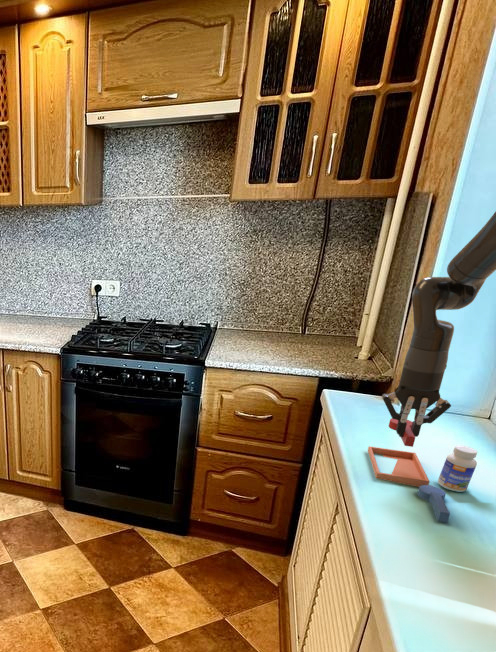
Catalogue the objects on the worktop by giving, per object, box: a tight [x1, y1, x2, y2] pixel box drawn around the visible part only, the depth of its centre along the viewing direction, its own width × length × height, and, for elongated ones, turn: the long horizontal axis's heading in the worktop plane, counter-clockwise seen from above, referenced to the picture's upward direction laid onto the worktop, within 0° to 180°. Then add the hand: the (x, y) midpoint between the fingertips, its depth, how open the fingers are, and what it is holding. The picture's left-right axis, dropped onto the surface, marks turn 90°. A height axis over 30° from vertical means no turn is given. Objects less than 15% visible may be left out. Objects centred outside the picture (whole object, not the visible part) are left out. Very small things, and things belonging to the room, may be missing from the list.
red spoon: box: [388, 417, 416, 448], centre depth 127 cm, size 13×5×2 cm, turn 154°
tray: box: [367, 445, 430, 488], centre depth 130 cm, size 16×10×2 cm, turn 154°
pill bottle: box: [437, 444, 478, 493], centre depth 121 cm, size 5×5×10 cm
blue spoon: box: [417, 484, 451, 524], centre depth 114 cm, size 13×5×2 cm, turn 154°
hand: (406, 436), depth 125 cm, fingers closed on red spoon, 1 cm apart
